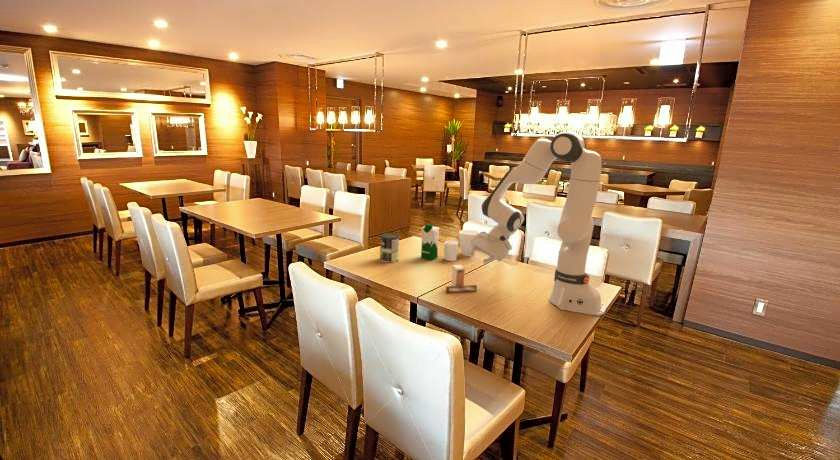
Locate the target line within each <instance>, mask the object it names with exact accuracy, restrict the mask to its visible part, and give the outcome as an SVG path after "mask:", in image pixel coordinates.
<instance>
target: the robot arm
mask: <svg viewBox="0 0 840 460" xmlns="http://www.w3.org/2000/svg"><path fill="white" fill-rule="evenodd" d="M551 139H552V140H549V139H547V138H539V139H537V140H536V141H535V142H534V143H533V144H532V145H531V146H530V148H529V150H528V151H527V153H526V154H525V156H524V157H523V160H521V162H520V163H519V165H517V166H513V167H511V168H510V169H508V171H507V172H506V173H505V174H504V175H503V177H502V178H501V179H500V180H499V182H498V184H497V185H496V186H495V188H494V189H493V190H492V192H491V193H490V194H489V195H488V196H487V197H486V198H485V199H484V201H483V202H482V204H481V212H482V215H484V216H485V217H487V218H489V219H491V220H492V221H494V222H495V223H497V224H496V225H495V226H493V227H492V229H491V230H490V231H489V232H486V231H480V232H479V234H477V235H476V236H475V237H474V238H472V239H471V241H470V243H471V245H472V246H473V247H472V250H471V252H470V253H469V254H470V255H471V256H470V257H474V256H475V252H476V251H477V250H478V251H480V252H481V253H483V254H485V255H487V256H488V257H487V258H484V259H483V260H482V263H483V264H485V265H488V263H490V262H491V261H493V260H496V261H497V262H501V261H503V260H504V259H505V258H506V257H507V256H508V254H509V251H512V249H513V247H512V244H511V243H510V241H509V239H510V237H511V236H512V235H514V234H515V233H516V232H517V231H518V230H519V228H520V227H521V225H522V224H523V222H524V221H525V216H524V214H523V212H522V211H521V210H519V209H517V208H515V207H513V206H511V205H510V204H508V203H506V201H503V199H502V197H503V195H505V193H506V192H507V191H508V189H509V188H510V186H511V185H513V184H514V183H515V184H516V183H518V184H523V185H524V184H525V185H535V184H538V183H539V182H541V181H542V180H543V178H544V177H545V176H546V174H547V172H548V170H549V169H550V167H551V165H552V164H553V162H555V160H557V159H558V160H560V161H562V162H565V163H568V164H570V165H571V169H570V176H569V177H570V178H569V183H568V189H567V193H566V198H565V203H564V204H563V208H562V212H561V215H560V218H559V222H558V226H557V236H558V237H559V238H560V239H561V245H560V248H559V250H558V257H557V263H556V264H557V265H556V269H555V271H554V277H553V278H554V279H553V280H554V284H553V288H552V291H551V293H550V296H549V299H548V300H549V302H550V303H551V304H553V305H554V306H556V307H557V308H558V309H559V310H562V311H566V310H567V311H568V312H573V313H577V314H585V315H591V316H597V317H600V316H603V315H604V314H605V313H606V311H607V306H606V304H605V303H604V302H602V297H601V294H600V291H599V290H598V289H597V288H596V287H594V286H593V285H592V284H591V283H590V273H588V274H587V273H586V272H585V271H586V267H587V266H586V265H587V260H588V253H589V249H590V245H591V241H592V237H593V232H594V227H595V219H594V217H593V216H592V214H593V211H594V208H595V205H596V201H597V197H598V192H599V188H600V182H601V176H602V157H601V155H600V154H599V153H597V152H596V151H592V150H587V149H586V148H587V142H586V139H585V138H584V137H583V135H581V134H579V133H577V132H574V131H563V132H559V133H557V134H556V135H555V136H554V137H553V138H551Z"/></svg>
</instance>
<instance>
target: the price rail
mask: <svg viewBox="0 0 840 460" xmlns="http://www.w3.org/2000/svg"><path fill="white" fill-rule="evenodd" d="M477 287H478V286H477V284H468V285H467V284H464V285H463V286H452V285H449V286H445V292H446V293H447V294H448V293H462V292H463V293H464V292H466V293H468V292H477V291H478V290H477Z"/></svg>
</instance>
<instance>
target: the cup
mask: <svg viewBox="0 0 840 460" xmlns="http://www.w3.org/2000/svg"><path fill="white" fill-rule="evenodd" d="M479 233H480V232H479V231H477V230H471V229H466V230H464V229H463V230H460V231H458V240H459V244H460V250H461V255H462V256H465V257H472V256H471V255H470V254H469V253H470V252H471V250H472V247H473V246H472V245H471V243H470V241H471V239H472V238H474V237H475V236H476V235H477V234H479Z"/></svg>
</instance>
